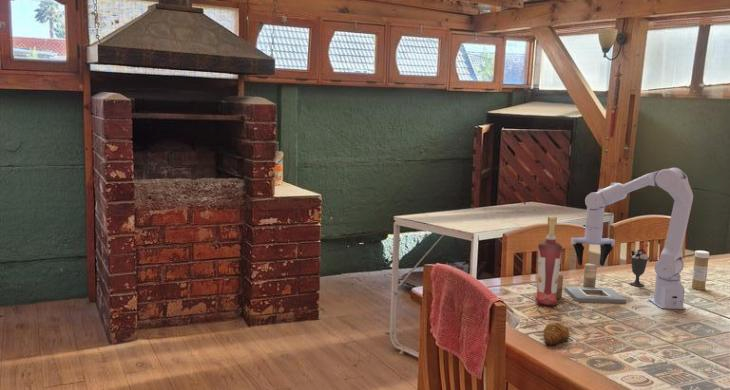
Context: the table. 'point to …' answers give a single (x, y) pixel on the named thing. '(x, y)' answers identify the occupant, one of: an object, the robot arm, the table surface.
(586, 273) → the slim peg
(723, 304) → the table surface
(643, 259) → the sundae
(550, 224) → the liquor
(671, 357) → the table surface
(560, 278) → the fat peg
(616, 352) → the table surface
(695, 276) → the sprinkles bottle
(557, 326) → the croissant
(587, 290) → the socket board
